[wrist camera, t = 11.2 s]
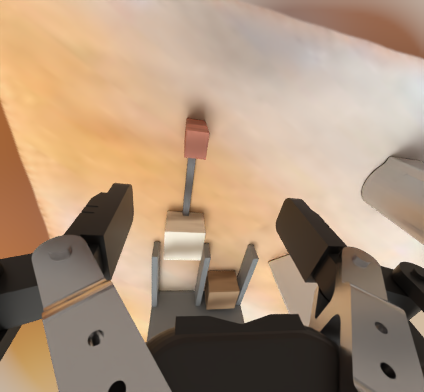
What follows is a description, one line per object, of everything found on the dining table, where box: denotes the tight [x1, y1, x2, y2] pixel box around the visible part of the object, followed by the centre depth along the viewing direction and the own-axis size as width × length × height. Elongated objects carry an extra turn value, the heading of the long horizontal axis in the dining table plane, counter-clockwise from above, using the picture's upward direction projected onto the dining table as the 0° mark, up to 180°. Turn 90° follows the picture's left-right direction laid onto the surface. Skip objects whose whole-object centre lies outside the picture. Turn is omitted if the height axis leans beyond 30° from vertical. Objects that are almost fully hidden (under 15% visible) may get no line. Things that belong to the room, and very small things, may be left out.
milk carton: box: [268, 255, 318, 326], centre depth 37 cm, size 7×7×19 cm
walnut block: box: [204, 271, 240, 310], centre depth 43 cm, size 6×6×5 cm
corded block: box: [164, 118, 210, 260], centre depth 29 cm, size 21×6×6 cm, turn 171°
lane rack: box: [147, 242, 259, 341], centre depth 36 cm, size 16×19×14 cm
